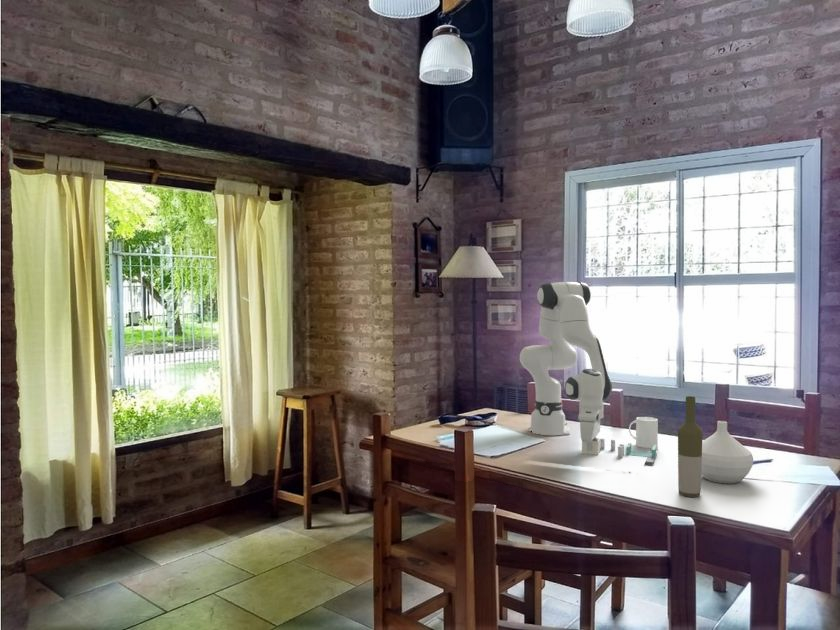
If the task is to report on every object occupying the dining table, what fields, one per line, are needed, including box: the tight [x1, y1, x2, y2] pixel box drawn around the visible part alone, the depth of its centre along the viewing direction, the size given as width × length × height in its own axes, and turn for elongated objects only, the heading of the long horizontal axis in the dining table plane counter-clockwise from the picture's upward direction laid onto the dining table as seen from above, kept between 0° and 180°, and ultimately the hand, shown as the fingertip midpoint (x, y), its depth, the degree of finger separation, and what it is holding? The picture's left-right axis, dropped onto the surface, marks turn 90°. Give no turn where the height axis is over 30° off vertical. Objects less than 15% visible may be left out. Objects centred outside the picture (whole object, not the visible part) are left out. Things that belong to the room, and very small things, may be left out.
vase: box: [701, 420, 754, 484], centre depth 204 cm, size 18×18×19 cm
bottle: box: [677, 396, 704, 498], centre depth 188 cm, size 7×7×30 cm
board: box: [581, 438, 658, 466], centre depth 234 cm, size 15×26×5 cm, turn 65°
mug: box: [628, 416, 659, 452], centre depth 247 cm, size 12×8×12 cm
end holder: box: [625, 442, 657, 458], centre depth 233 cm, size 7×10×3 cm
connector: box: [581, 437, 601, 456], centre depth 235 cm, size 4×6×5 cm, turn 65°
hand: (590, 448), depth 235 cm, fingers closed on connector, 4 cm apart
